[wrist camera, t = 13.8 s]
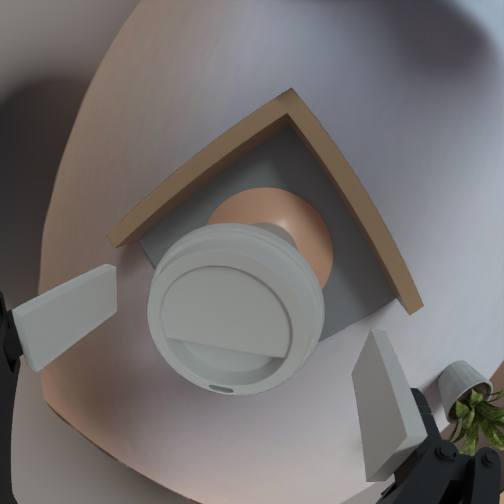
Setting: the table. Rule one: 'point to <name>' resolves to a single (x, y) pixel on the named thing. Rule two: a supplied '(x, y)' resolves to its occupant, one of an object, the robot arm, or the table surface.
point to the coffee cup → (235, 307)
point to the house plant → (470, 405)
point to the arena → (283, 208)
